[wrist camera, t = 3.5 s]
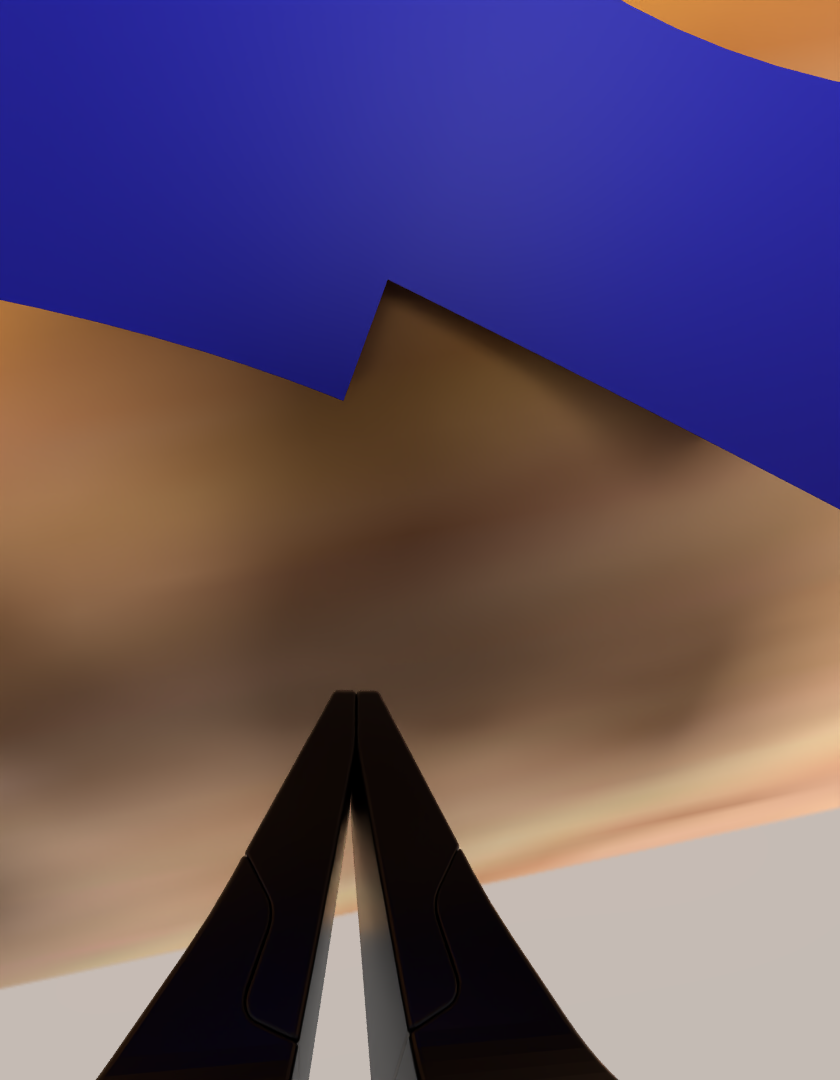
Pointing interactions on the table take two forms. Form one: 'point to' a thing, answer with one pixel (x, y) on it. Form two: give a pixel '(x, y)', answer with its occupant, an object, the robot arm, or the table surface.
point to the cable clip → (438, 195)
